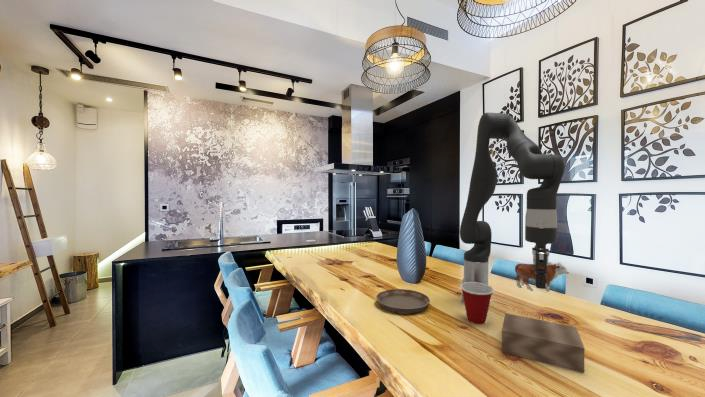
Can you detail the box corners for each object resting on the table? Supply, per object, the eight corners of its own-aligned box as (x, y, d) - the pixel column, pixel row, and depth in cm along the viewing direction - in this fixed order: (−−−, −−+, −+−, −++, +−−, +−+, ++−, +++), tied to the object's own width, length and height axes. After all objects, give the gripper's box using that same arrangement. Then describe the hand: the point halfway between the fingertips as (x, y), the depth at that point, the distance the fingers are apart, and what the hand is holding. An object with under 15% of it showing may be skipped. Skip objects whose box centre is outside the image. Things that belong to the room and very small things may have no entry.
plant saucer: (407, 321, 99) (407, 312, 99) (365, 304, 115) (365, 296, 115) (440, 307, 113) (440, 298, 113) (398, 293, 128) (399, 285, 128)
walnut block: (501, 351, 80) (501, 330, 80) (504, 332, 92) (505, 313, 92) (584, 372, 70) (584, 348, 70) (576, 347, 82) (576, 326, 82)
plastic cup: (459, 324, 97) (460, 289, 97) (459, 312, 107) (459, 280, 107) (495, 330, 93) (496, 293, 93) (491, 317, 103) (492, 283, 103)
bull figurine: (571, 294, 78) (571, 264, 78) (516, 290, 80) (517, 261, 80) (562, 289, 82) (563, 260, 82) (511, 285, 85) (511, 257, 85)
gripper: (525, 222, 89) (524, 277, 89) (525, 226, 77) (524, 290, 77) (554, 224, 85) (554, 281, 85) (559, 228, 73) (558, 295, 73)
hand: (540, 285), depth 81 cm, fingers closed on bull figurine, 5 cm apart
